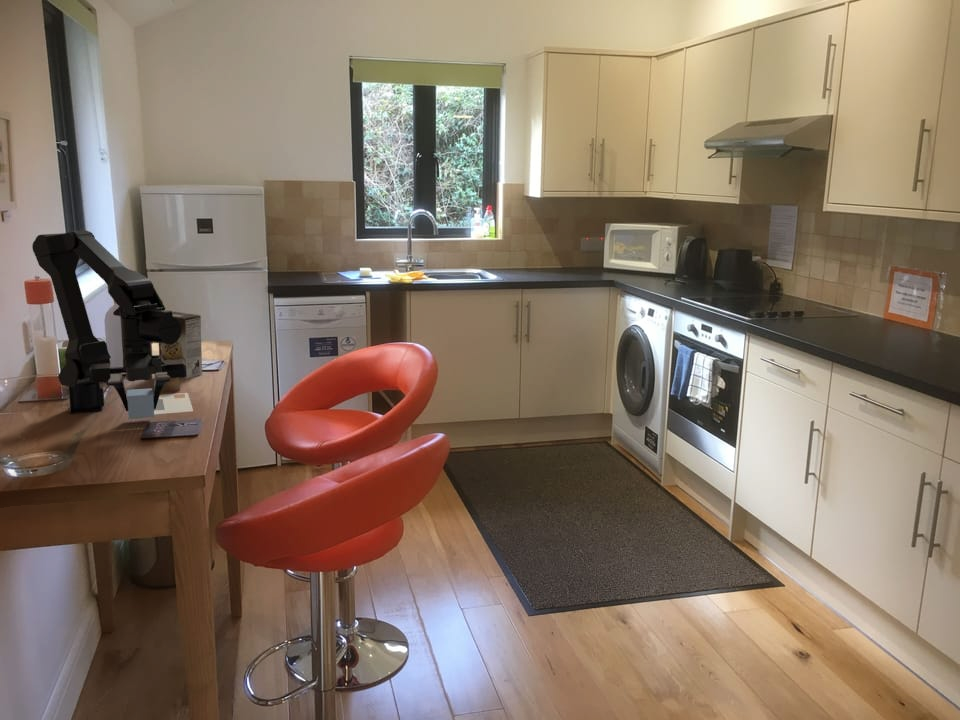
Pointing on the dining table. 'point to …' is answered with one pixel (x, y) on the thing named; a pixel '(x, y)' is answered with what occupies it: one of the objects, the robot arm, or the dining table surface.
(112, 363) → the soap bottle
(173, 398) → the letter
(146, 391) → the blue cube
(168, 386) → the walnut block
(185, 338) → the coffee box
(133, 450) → the dining table surface
